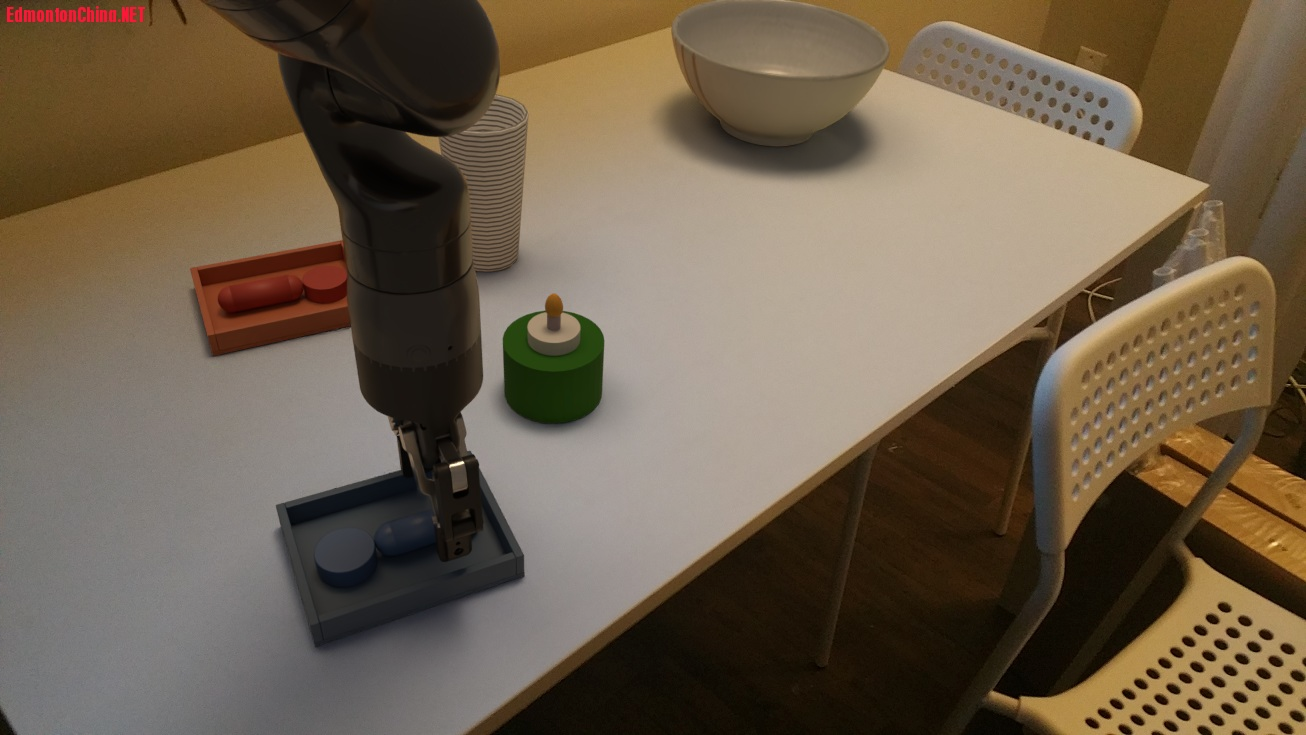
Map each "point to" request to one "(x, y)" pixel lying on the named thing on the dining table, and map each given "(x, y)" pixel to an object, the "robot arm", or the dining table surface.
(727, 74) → the decorative bowl
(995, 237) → the dining table surface
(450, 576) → the dark grey tray
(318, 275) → the red spoon
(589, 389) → the candle
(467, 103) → the robot arm
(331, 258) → the red tray
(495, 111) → the cup
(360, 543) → the blue spoon
